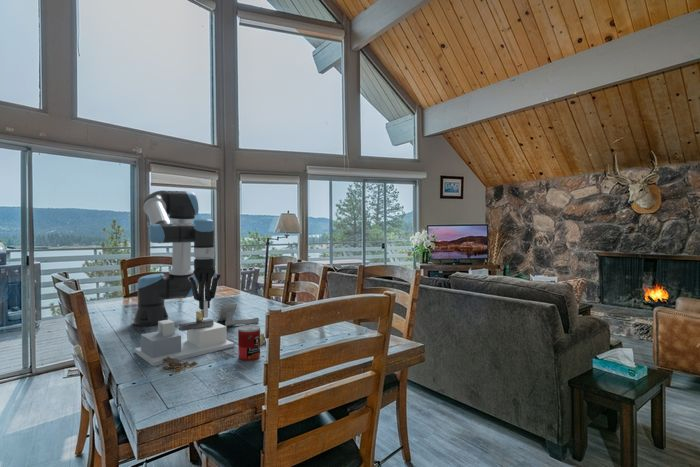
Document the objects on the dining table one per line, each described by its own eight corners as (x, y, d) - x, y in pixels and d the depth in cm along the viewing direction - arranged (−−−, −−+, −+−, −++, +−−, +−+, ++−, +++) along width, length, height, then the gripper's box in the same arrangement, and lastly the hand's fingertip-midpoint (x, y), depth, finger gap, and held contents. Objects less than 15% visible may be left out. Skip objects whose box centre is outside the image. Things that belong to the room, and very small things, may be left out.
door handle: (219, 334, 194) (223, 322, 178) (217, 318, 197) (221, 305, 181) (255, 329, 201) (262, 317, 185) (253, 314, 205) (259, 301, 188)
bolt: (179, 329, 151) (178, 314, 151) (210, 323, 160) (210, 309, 160) (182, 331, 149) (182, 315, 149) (213, 325, 158) (213, 310, 158)
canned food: (249, 362, 138) (249, 331, 138) (233, 358, 142) (233, 328, 142) (264, 356, 144) (264, 326, 144) (249, 352, 149) (249, 323, 148)
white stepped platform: (134, 352, 148) (134, 320, 148) (210, 336, 169) (210, 308, 169) (153, 366, 134) (153, 331, 134) (233, 346, 155) (233, 316, 155)
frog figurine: (150, 375, 127) (150, 363, 127) (171, 362, 139) (171, 351, 139) (183, 377, 126) (183, 365, 126) (202, 363, 138) (202, 352, 138)
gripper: (191, 259, 149) (192, 321, 150) (223, 257, 158) (224, 315, 159) (183, 258, 154) (184, 318, 155) (215, 256, 163) (215, 312, 164)
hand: (204, 316), depth 157 cm, fingers closed
